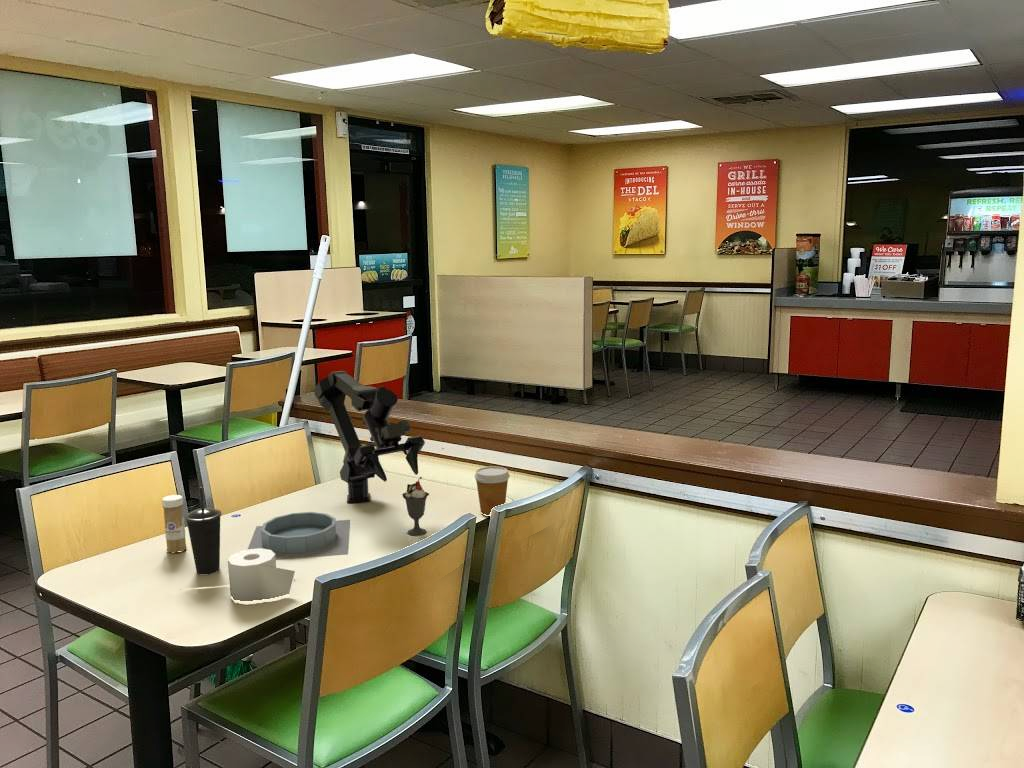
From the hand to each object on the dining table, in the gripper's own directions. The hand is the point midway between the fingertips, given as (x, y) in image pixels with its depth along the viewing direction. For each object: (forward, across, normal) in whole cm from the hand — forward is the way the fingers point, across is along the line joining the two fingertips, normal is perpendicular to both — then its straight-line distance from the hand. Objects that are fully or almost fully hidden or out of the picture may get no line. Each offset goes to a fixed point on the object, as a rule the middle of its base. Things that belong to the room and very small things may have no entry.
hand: (401, 477), depth 207 cm
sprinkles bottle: (-4, -52, +23) cm, 57 cm away
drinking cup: (+8, -50, +10) cm, 51 cm away
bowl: (+4, -26, +13) cm, 29 cm away
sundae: (+14, 0, +4) cm, 15 cm away
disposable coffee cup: (+15, +23, +4) cm, 28 cm away
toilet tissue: (+22, -45, -4) cm, 50 cm away
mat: (+5, -26, +14) cm, 30 cm away
